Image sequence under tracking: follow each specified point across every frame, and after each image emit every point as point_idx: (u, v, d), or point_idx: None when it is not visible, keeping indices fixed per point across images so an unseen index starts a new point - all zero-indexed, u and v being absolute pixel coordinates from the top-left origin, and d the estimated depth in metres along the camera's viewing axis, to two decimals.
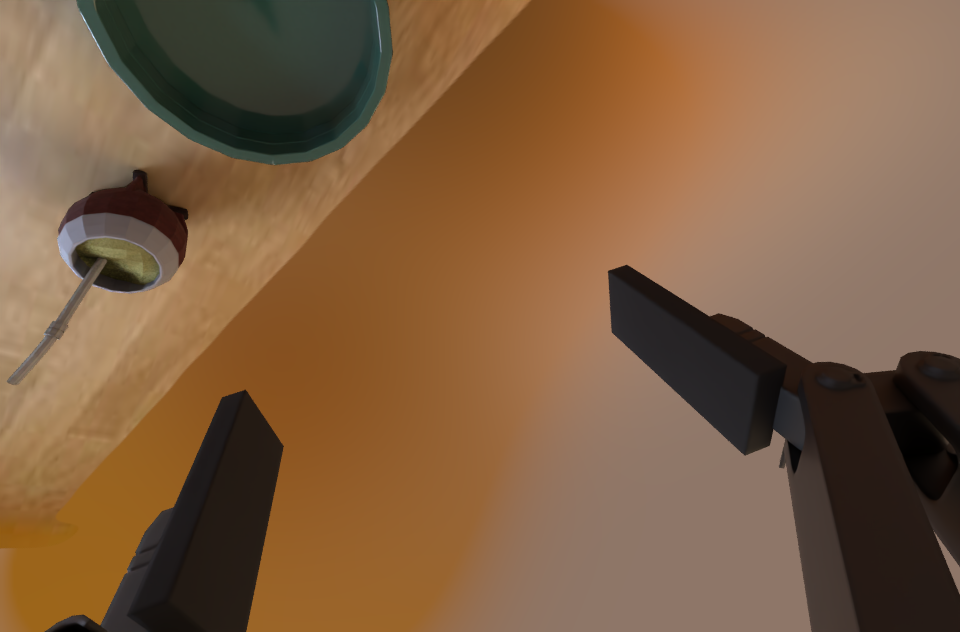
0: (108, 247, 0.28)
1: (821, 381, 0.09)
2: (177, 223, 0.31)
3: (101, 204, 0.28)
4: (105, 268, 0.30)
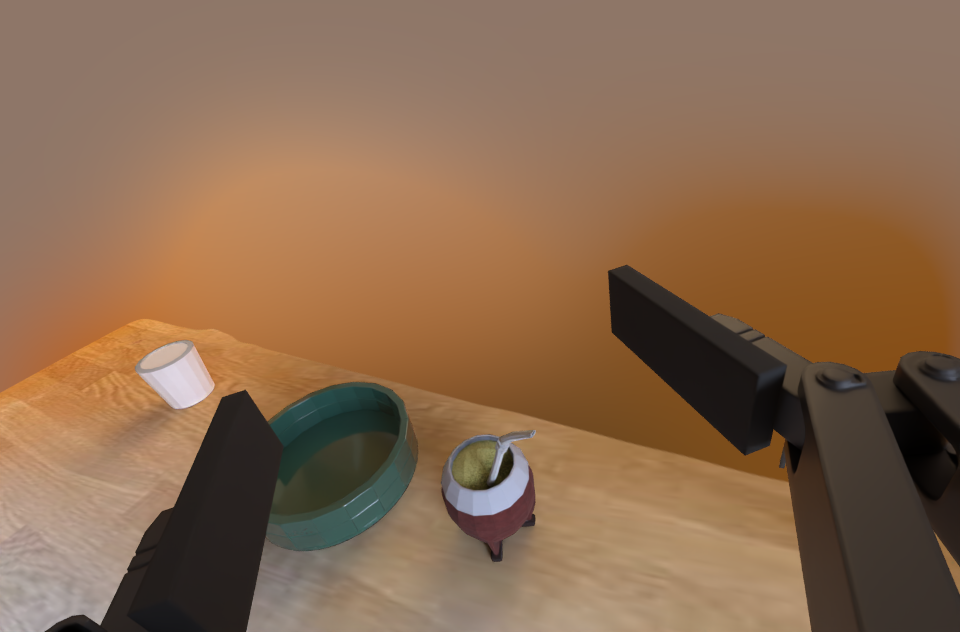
0: (463, 469, 0.30)
1: (820, 381, 0.09)
2: None
3: (443, 496, 0.31)
4: (502, 481, 0.30)
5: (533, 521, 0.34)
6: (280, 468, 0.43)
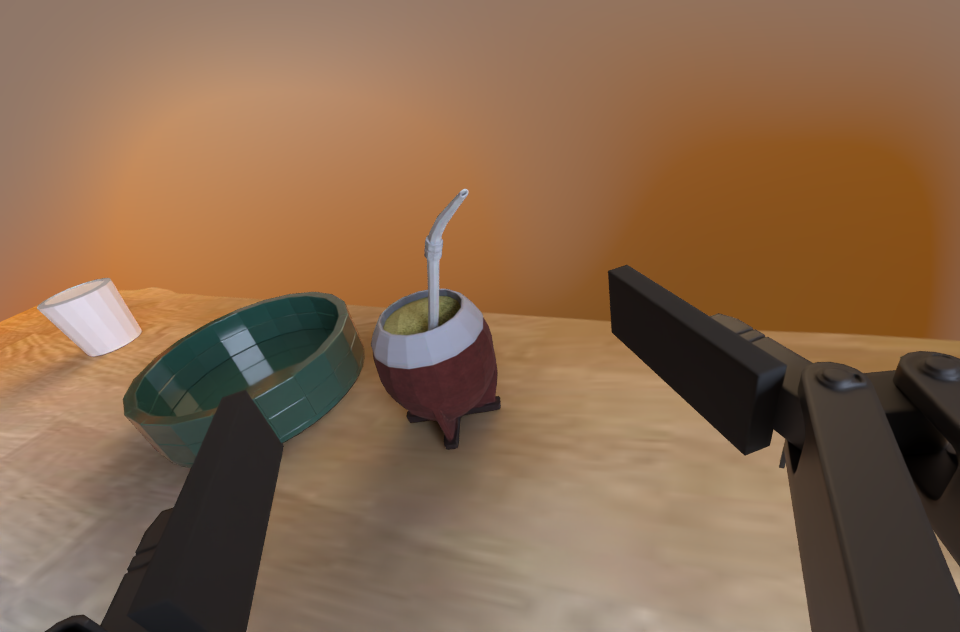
0: (397, 322, 0.23)
1: (821, 381, 0.09)
2: None
3: (375, 363, 0.24)
4: None
5: (498, 403, 0.27)
6: (198, 391, 0.35)
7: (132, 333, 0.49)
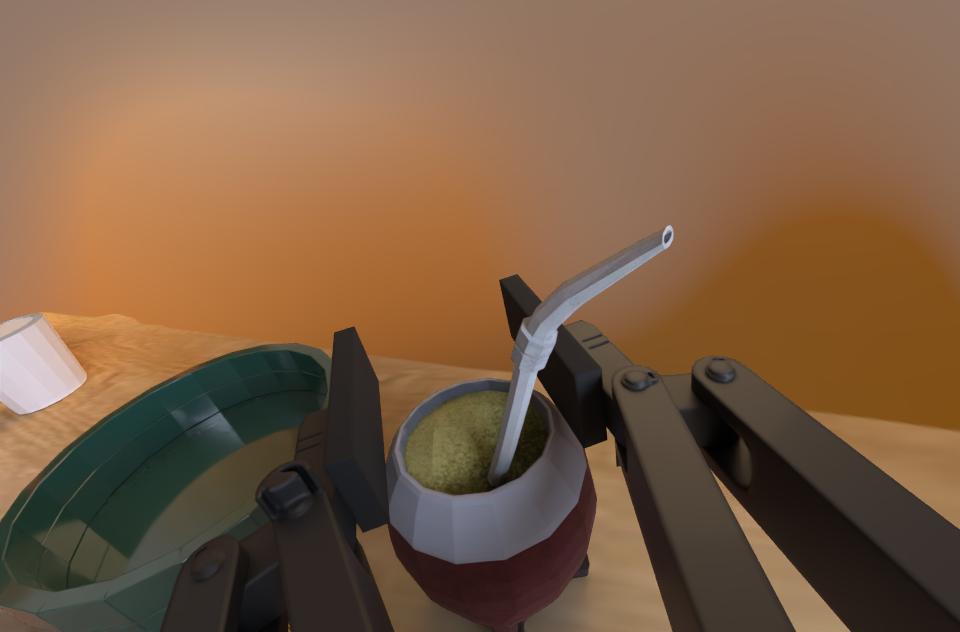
0: (430, 449, 0.13)
1: (626, 385, 0.10)
2: None
3: None
4: None
5: (586, 566, 0.16)
6: (129, 492, 0.25)
7: (72, 383, 0.39)
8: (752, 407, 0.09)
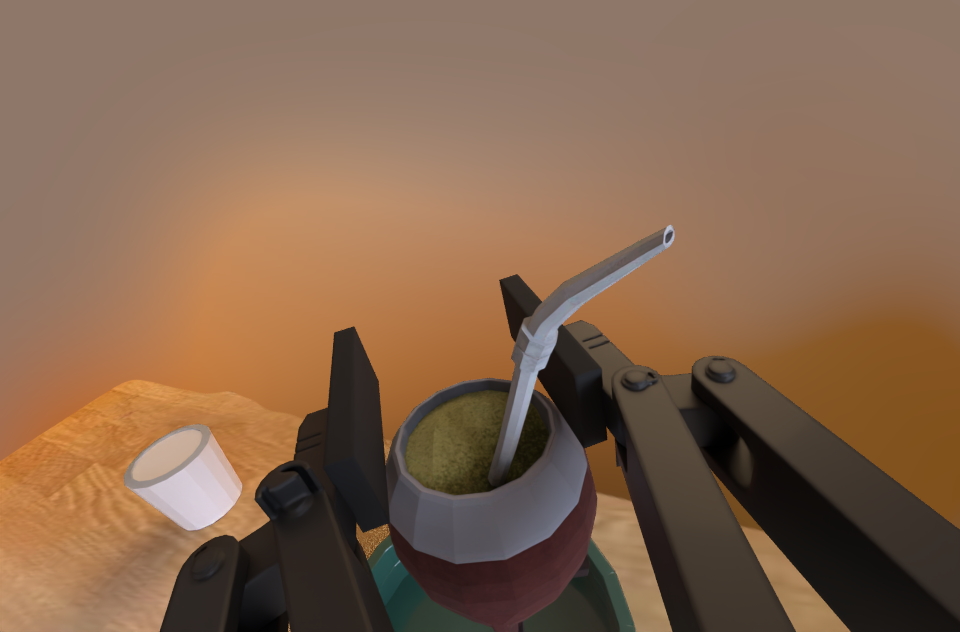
0: (430, 449, 0.13)
1: (626, 386, 0.10)
2: None
3: None
4: None
5: (586, 566, 0.16)
6: None
7: (234, 494, 0.39)
8: (752, 407, 0.09)
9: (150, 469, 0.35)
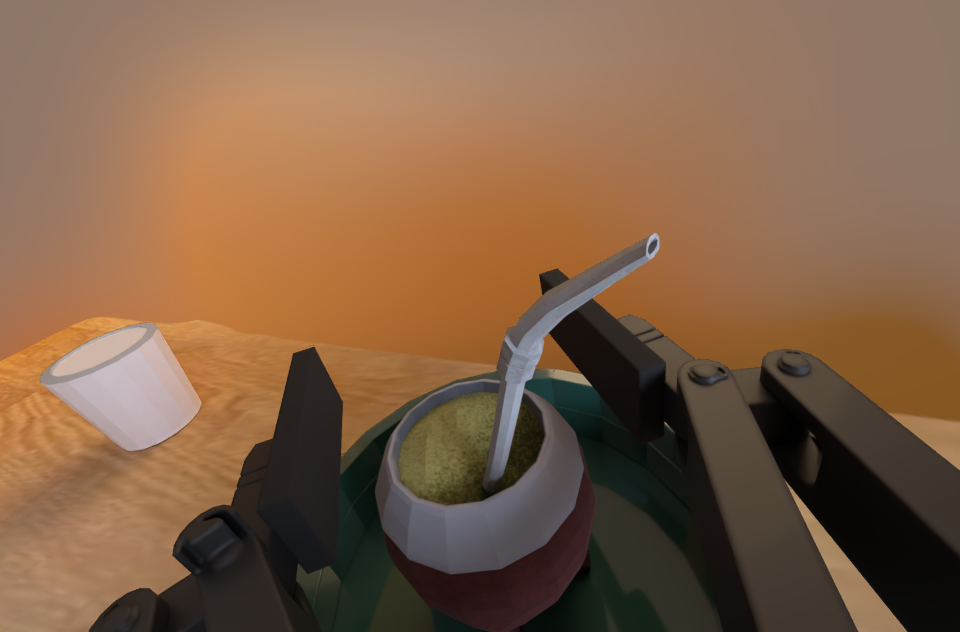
0: (423, 455, 0.13)
1: (693, 378, 0.10)
2: None
3: None
4: None
5: (588, 564, 0.16)
6: (368, 589, 0.17)
7: (190, 410, 0.31)
8: (826, 402, 0.09)
9: (75, 365, 0.27)
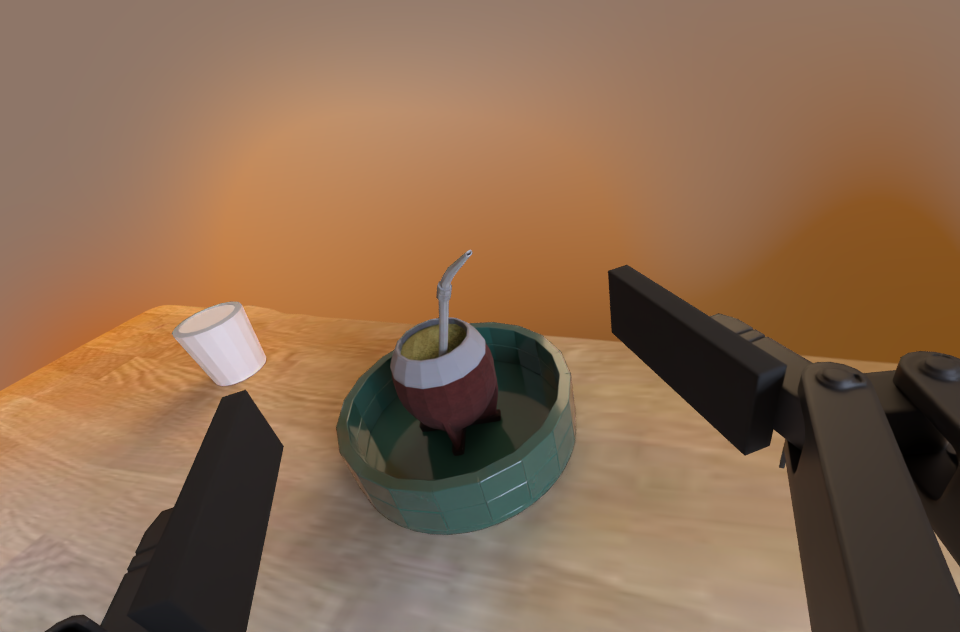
0: (412, 347, 0.27)
1: (821, 381, 0.09)
2: None
3: (393, 382, 0.28)
4: None
5: (498, 415, 0.31)
6: (385, 435, 0.32)
7: (260, 360, 0.46)
8: None
9: (193, 327, 0.42)
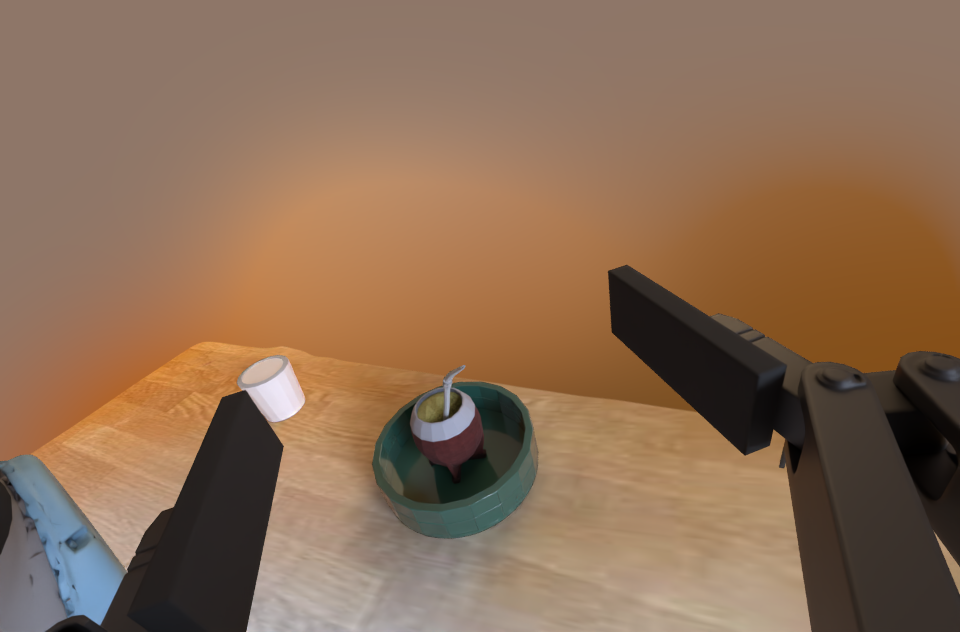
0: (425, 411, 0.40)
1: (821, 381, 0.09)
2: None
3: (412, 433, 0.41)
4: None
5: (484, 454, 0.44)
6: (404, 467, 0.45)
7: (301, 401, 0.59)
8: None
9: (253, 378, 0.55)
